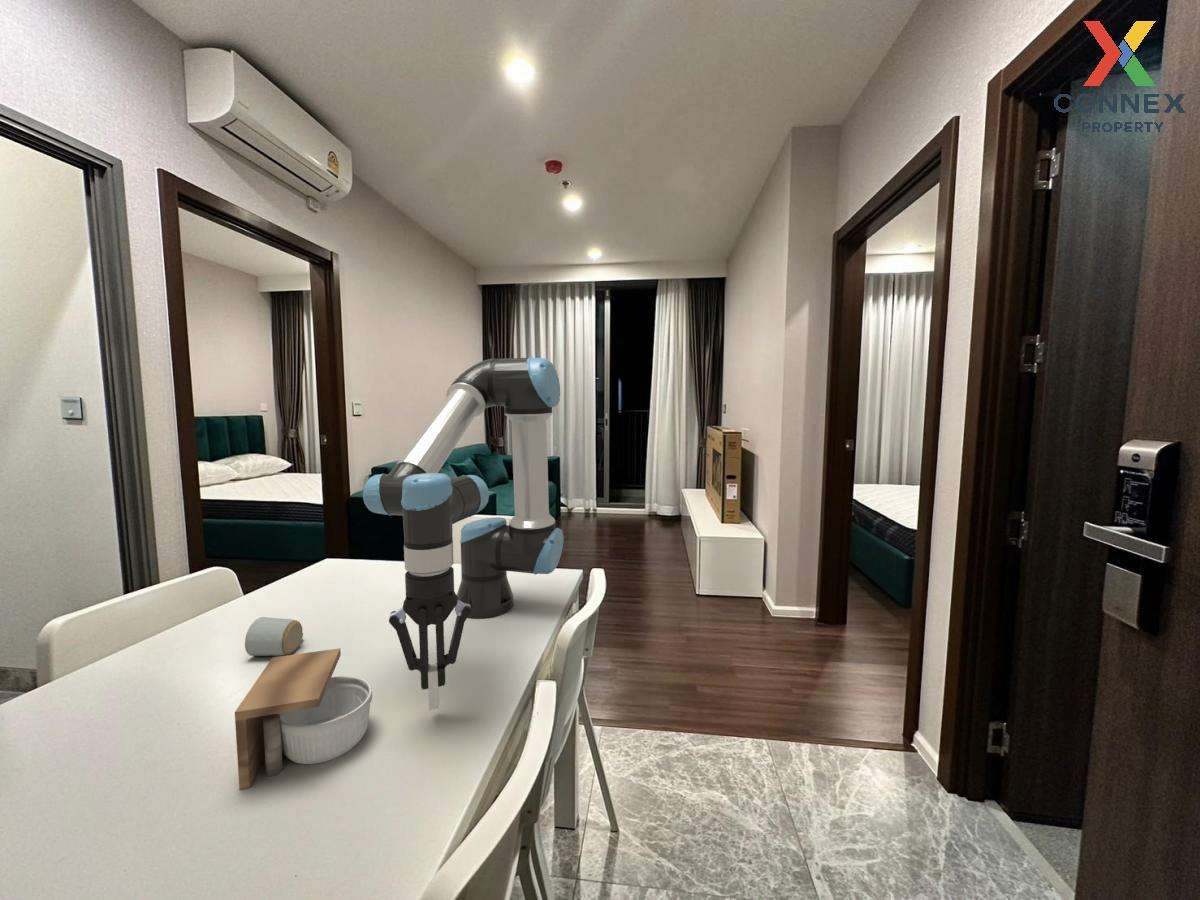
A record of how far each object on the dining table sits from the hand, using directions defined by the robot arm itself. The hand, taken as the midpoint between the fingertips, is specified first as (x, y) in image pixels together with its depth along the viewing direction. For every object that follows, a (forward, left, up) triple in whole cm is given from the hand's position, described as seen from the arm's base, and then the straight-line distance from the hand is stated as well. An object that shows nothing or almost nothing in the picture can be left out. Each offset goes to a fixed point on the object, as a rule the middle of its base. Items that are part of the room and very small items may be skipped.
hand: (434, 704), depth 80 cm
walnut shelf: (+20, 0, -3) cm, 20 cm away
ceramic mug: (+32, -35, -3) cm, 47 cm away
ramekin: (+16, 0, -3) cm, 16 cm away
